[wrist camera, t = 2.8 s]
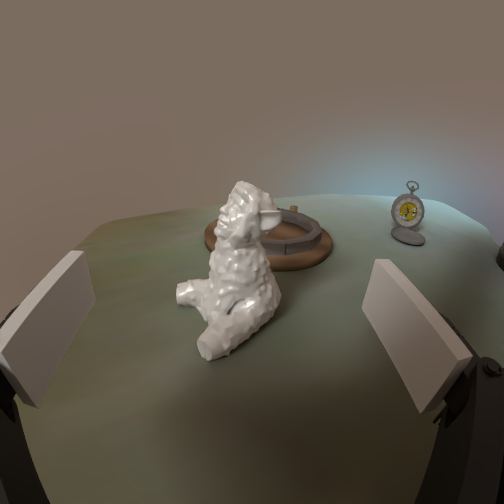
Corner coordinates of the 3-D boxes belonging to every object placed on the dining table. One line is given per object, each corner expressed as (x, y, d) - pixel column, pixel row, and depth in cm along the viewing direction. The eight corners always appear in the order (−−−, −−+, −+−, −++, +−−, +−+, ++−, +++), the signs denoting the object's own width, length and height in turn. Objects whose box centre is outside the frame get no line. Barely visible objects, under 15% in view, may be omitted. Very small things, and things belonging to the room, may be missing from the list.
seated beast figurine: (172, 298, 27) (163, 174, 22) (251, 281, 31) (257, 168, 25) (204, 367, 19) (195, 204, 14) (302, 335, 23) (325, 194, 18)
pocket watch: (408, 249, 41) (422, 189, 37) (377, 229, 48) (386, 176, 44) (435, 245, 44) (447, 192, 39) (404, 227, 51) (414, 179, 46)
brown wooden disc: (249, 212, 52) (250, 195, 51) (344, 237, 44) (348, 218, 42) (178, 244, 38) (176, 222, 37) (299, 288, 30) (304, 261, 28)
